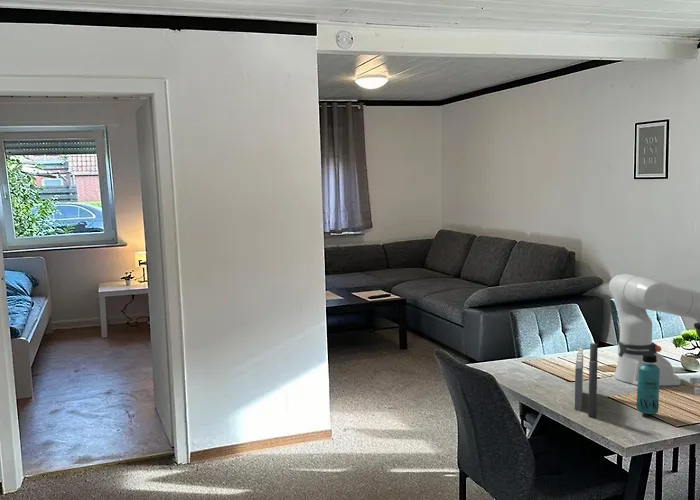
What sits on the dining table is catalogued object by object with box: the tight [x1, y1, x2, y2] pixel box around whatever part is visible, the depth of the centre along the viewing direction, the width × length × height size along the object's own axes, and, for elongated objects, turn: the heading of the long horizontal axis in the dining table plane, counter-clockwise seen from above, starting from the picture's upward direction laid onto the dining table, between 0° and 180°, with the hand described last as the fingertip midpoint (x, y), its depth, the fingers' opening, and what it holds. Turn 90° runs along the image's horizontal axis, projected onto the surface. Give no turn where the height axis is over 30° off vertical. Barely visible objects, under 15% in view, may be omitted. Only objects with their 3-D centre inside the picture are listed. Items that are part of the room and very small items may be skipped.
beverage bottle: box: [636, 354, 661, 415], centre depth 200 cm, size 6×7×20 cm
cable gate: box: [587, 342, 599, 419], centre depth 210 cm, size 2×24×18 cm, turn 158°
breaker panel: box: [574, 347, 584, 411], centre depth 214 cm, size 2×18×16 cm, turn 158°
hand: (692, 385), depth 196 cm, fingers open, 8 cm apart
